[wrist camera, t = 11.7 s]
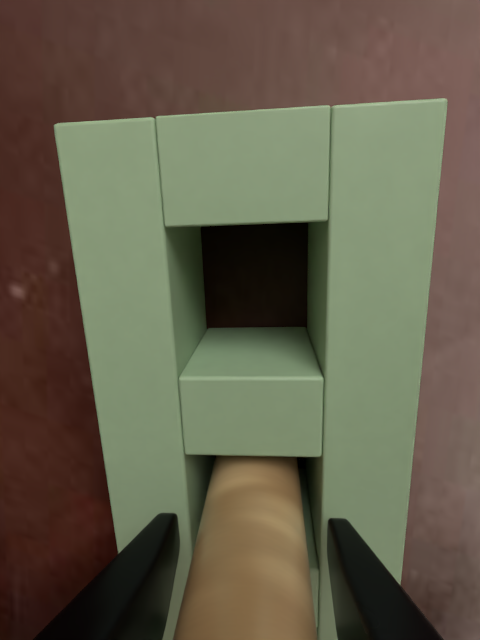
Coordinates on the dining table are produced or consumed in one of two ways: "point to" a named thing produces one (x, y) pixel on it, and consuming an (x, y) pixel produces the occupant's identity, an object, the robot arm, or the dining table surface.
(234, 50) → the dining table surface
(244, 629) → the peg
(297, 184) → the peg board
